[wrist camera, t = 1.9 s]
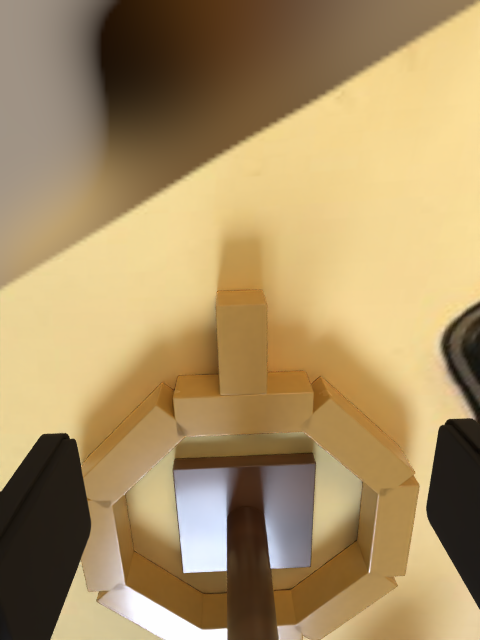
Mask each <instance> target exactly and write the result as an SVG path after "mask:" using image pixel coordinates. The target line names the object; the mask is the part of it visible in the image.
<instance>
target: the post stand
mask: <svg viewBox="0 0 480 640" xmlns="http://www.w3.org/2000/svg"><path fill="white" fill-rule="evenodd" d="M315 470H316V462H315V459H314V456H313V453H305V454H281V455H258V456H234V457H210V458H187V459H175V460H174V465H173V478H174V488H175V498H176V508H177V518H178V528H179V538H180V548H181V558H182V568H183V573H195V572H216V571H227V640H279V637H278V628H277V619H276V610H275V602H274V593H273V584H272V575H271V569H277V568H298V567H311V550H312V530H313V510H314V490H315Z"/></svg>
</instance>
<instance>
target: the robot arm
mask: <svg viewBox="0 0 480 640" xmlns="http://www.w3.org/2000/svg"><path fill="white" fill-rule="evenodd" d="M426 511H427V517H428V520H429V522H430V524H431V526H432V527H433V529H434V531H435V533H436V534H437V536H438V538H439V540H440V541H441V543H442V545H443V547H444V548H445V550H446V552H447V554H448V555H449V557H450V559H451V560H452V562H453V564H454V566H455V567H456V569H457V571H458V573H459V574H460V576H461V578H462V580H463V581H464V583H465V585H466V587H467V588H468V590H469V592H470V593H471V595H472V597H473V599H474V600H475V602H476V604H477V606H478V607H479V609H480V425H479V424H478V423H477V422H476V421H475V420H473V419H470V418H467V419H449V420H447V421H446V423H445V425H442V426H440V428H439V431H438V437H437V444H436V450H435V456H434V462H433V469H432V475H431V481H430V487H429V493H428V500H427V506H426ZM90 532H91V517H90V512H89V507H88V501H87V496H86V490H85V485H84V480H83V474H82V469H81V464H80V458H79V453H78V447H77V443H76V440H75V439H70V438H69V436H68V434H66V433H58V434H43V435H42V436H41V437H40V438H39V439H38V441H37V442H36V443H35V445H34V446H33V448H32V449H31V450H30V452H29V453H28V455H27V456H26V457H25V459H24V460H23V462H22V463H21V465H20V466H19V467H18V469H17V470H16V472H15V473H14V474H13V476H12V477H11V479H10V480H9V481H8V483H7V484H6V486H5V487H4V489H3V490H2V491H1V492H0V640H50V639H51V636H52V634H53V631H54V628H55V626H56V623H57V620H58V618H59V615H60V613H61V610H62V607H63V605H64V602H65V599H66V597H67V594H68V591H69V589H70V586H71V584H72V581H73V578H74V576H75V573H76V570H77V568H78V565H79V562H80V560H81V557H82V555H83V552H84V549H85V547H86V544H87V541H88V539H89V536H90Z"/></svg>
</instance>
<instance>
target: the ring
mask: <svg viewBox="0 0 480 640" xmlns="http://www.w3.org/2000/svg"><path fill="white" fill-rule="evenodd" d="M216 324H217V345H218V367H219V374H210V375H183V376H178V377H177V382H176V386H175V391H174V390H172V389H171V388H170V387H168V386H167V385H166V384H165V383H163V382H162V383H161V384H160V385H159V386H158V387H157V388H156V389H155V390H154V391H153V392H152V393H151V394H150V395H149V396H148V397H147V398H146V399H145V400H144V401H143V402H142V403H141V404H140V405H139V406H138V407H137V408H136V409H135V410H134V411H133V412H132V413H131V414H130V415H129V416H128V417H127V418H126V419H125V420H124V421H123V422H122V423H121V424H120V425H119V426H118V427H117V428H116V429H115V430H114V431H113V432H112V433H111V434H110V435H109V436H108V437H107V438H106V439H105V440H104V441H103V442H102V443H101V444H100V445H99V446H98V447H97V449H96V450H95V451H94V452H93V453H92V454H91V455H90V456H89V457H88V458H87V459H86V460H85V462H84V464H83V466H82V468H81V469H82V474H83V480H84V485H85V490H86V496H87V501H88V507H89V512H90V517H91V532H90V536H89V539H88V541H87V544H86V547H85V549H84V552H83V555H82V557H81V562H82V567H83V571H84V576H85V580H86V585H87V590H88V592H94V591H99V593H98V597H97V600H96V601H97V602H98V603H100V604H102V605H103V606H105V607H107V608H109V609H110V610H112V611H114V612H116V613H118V614H119V615H121V616H123V617H125V618H126V619H128V620H130V621H132V622H134V623H135V624H137V625H139V626H141V627H143V628H144V629H146V630H148V631H150V632H151V633H153V634H155V635H157V636H159V637H160V638H162V639H164V640H227V593H217V594H203V593H201V592H199V591H198V590H196V589H194V588H193V587H191V586H190V585H188V584H186V583H185V582H183V581H182V580H180V579H178V578H177V577H175V576H173V575H172V574H170V573H169V572H167V571H165V570H164V569H162V568H161V567H159V566H157V565H156V564H154V563H152V562H151V561H149V560H148V559H146V558H144V557H143V556H141V555H139V554H138V553H136V552H135V551H134V549H133V543H132V536H131V530H130V523H129V517H128V510H127V504H126V497H125V493H126V492H127V491H128V490H129V489H131V488H132V487H133V486H134V485H135V484H136V483H137V482H138V481H139V480H140V479H141V478H142V477H143V476H144V475H145V474H146V473H148V472H149V471H150V470H151V469H152V468H153V467H154V466H155V465H156V464H157V463H158V462H159V461H160V460H161V459H162V458H163V457H165V456H166V455H167V454H168V453H169V452H170V451H171V450H172V449H173V448H174V447H175V446H176V445H177V444H178V443H179V442H180V441H182V440H183V439H184V438H185V437H191V436H216V435H240V434H264V433H289V432H304V433H305V434H306V435H307V436H309V437H310V438H311V439H312V440H313V441H315V442H316V443H317V444H318V445H319V446H321V447H322V448H323V449H324V450H325V451H327V452H328V453H329V454H330V455H332V456H333V457H334V458H335V459H336V460H338V461H339V462H340V463H341V464H342V465H344V466H345V467H346V468H347V469H348V470H350V471H351V472H352V473H353V474H354V475H356V476H357V477H358V478H359V479H360V480H362V481H363V489H362V499H361V508H360V518H359V528H358V538H357V541H356V542H354V543H353V544H352V545H350V546H349V547H348V548H346V549H345V550H344V551H342V552H341V553H340V554H338V555H337V556H336V557H334V558H333V559H331V560H330V561H329V562H327V563H326V564H325V565H323V566H322V567H321V568H319V569H318V570H317V571H315V572H314V573H313V574H311V575H310V576H309V577H307V578H306V579H305V580H303V581H302V582H301V583H299V584H298V585H297V586H295V587H294V588H293V589H291V590H277V591H273V593H274V602H275V610H276V619H277V628H278V637H279V640H303V635H304V636H305V637H307V638H308V639H310V640H321V639H322V638H324V637H325V636H327V635H328V634H329V633H331V632H332V631H334V630H335V629H337V628H338V627H340V626H341V625H342V624H344V623H345V622H347V621H348V620H350V619H351V618H353V617H354V616H355V615H357V614H358V613H360V612H361V611H363V610H364V609H366V608H367V607H369V606H370V605H371V604H373V603H374V602H376V601H377V600H379V599H380V598H382V597H383V596H384V595H386V594H387V593H389V592H390V591H392V590H393V589H395V588H396V587H397V583H396V581H395V578H394V576H405V573H406V567H407V561H408V555H409V548H410V542H411V536H412V530H413V524H414V518H415V511H416V505H417V499H418V493H419V487H420V486H419V483H418V482H417V480H416V479H415V477H414V474H415V471H414V470H413V468H412V466H411V465H410V463H409V461H408V460H407V458H406V457H405V455H404V453H403V452H402V450H401V449H400V447H399V446H398V445H397V444H396V443H395V442H394V441H393V440H392V439H391V438H389V437H388V436H387V435H386V434H385V433H384V432H383V431H382V430H380V429H379V428H378V427H377V426H376V425H375V424H374V423H373V422H372V421H370V420H369V419H368V418H367V417H366V416H365V415H364V414H363V413H361V412H360V411H359V410H358V409H357V408H356V407H355V406H354V405H353V404H351V403H350V402H349V401H348V400H347V399H346V398H345V397H344V396H343V395H341V394H340V393H339V392H338V391H337V390H336V389H335V388H334V387H332V386H331V385H330V384H329V383H328V382H327V381H326V380H325V379H324V378H322V377H321V376H320V377H319V378H318V379H317V380H315V381H314V382H313V383H312V384H310V382H309V379H308V377H307V374H306V372H305V371H290V372H267V303H266V299H265V296H264V293H263V290H238V291H217V294H216Z"/></svg>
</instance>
